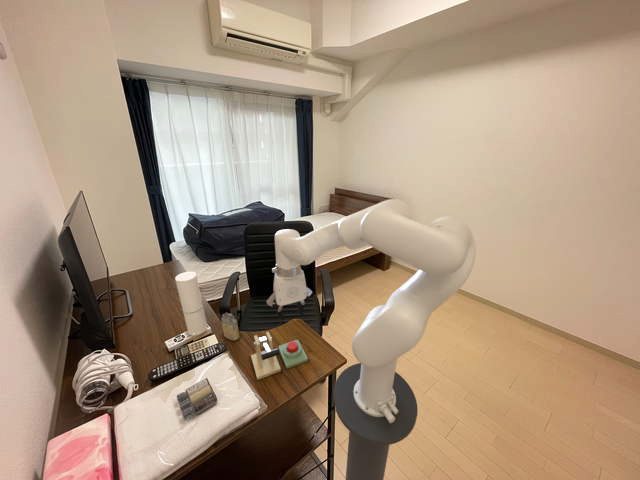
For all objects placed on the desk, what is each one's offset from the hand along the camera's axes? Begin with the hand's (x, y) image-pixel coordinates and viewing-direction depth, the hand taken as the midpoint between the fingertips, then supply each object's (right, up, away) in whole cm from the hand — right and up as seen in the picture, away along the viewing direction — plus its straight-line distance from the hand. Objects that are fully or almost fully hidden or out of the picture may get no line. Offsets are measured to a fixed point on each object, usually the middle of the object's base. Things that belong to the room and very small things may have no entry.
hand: (290, 315), depth 85 cm
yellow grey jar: (-25, -13, +15) cm, 32 cm away
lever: (-7, -10, -5) cm, 13 cm away
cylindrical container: (-41, -11, +18) cm, 46 cm away
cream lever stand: (-9, -18, +3) cm, 20 cm away
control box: (0, -16, +7) cm, 18 cm away
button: (0, -14, +6) cm, 15 cm away
